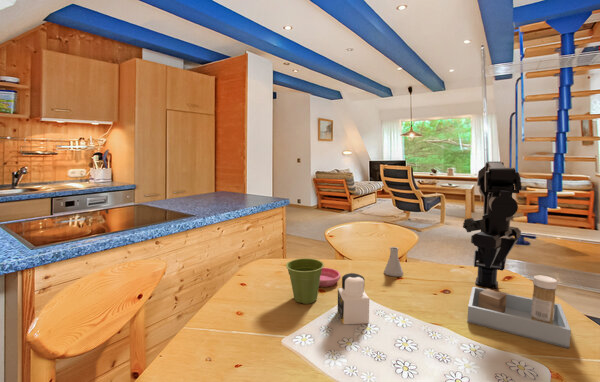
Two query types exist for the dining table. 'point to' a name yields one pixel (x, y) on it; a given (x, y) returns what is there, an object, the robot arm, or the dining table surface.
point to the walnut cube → (492, 300)
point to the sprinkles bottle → (543, 299)
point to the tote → (520, 319)
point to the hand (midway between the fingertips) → (494, 264)
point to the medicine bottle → (353, 300)
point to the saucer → (328, 277)
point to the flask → (393, 264)
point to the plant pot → (305, 278)
